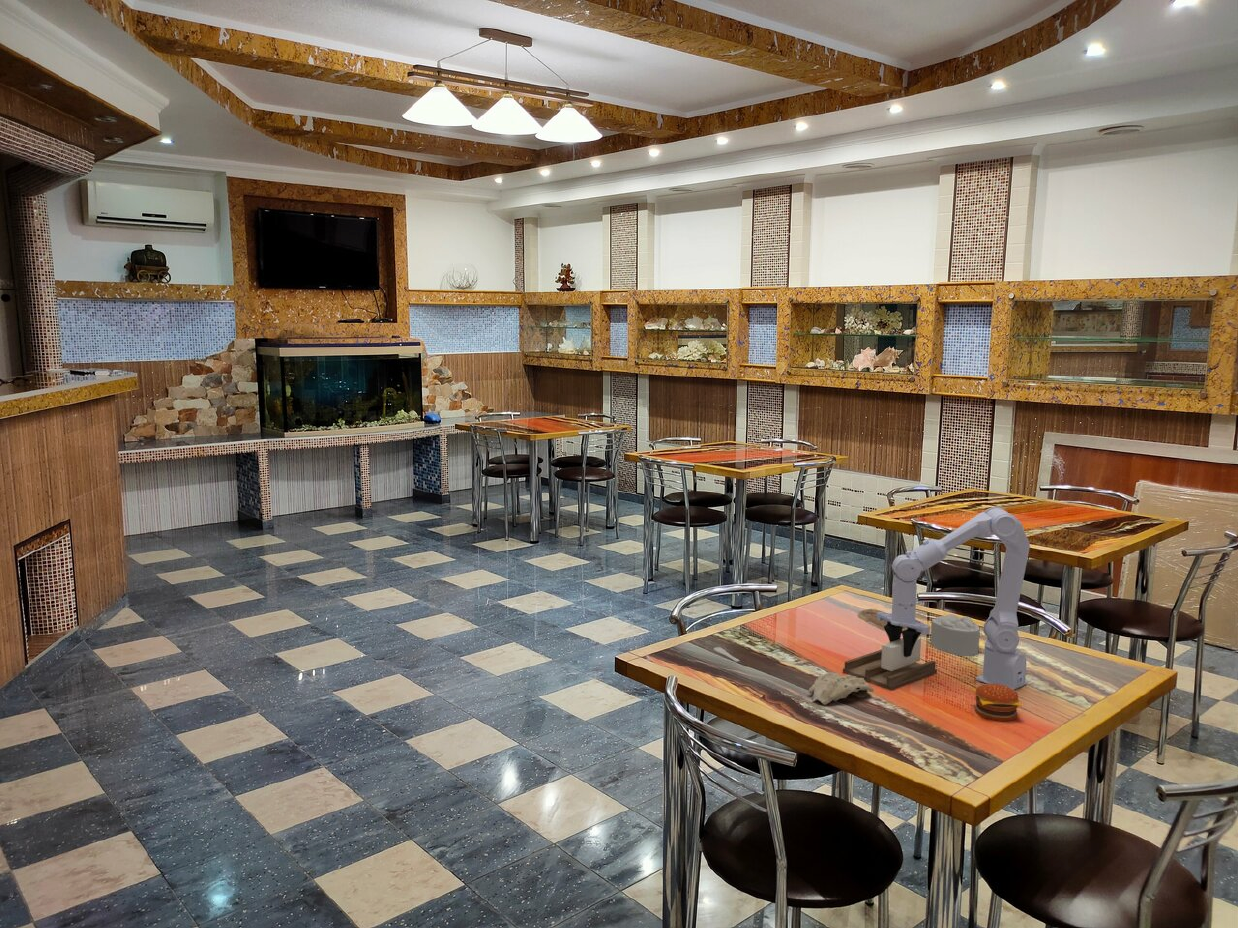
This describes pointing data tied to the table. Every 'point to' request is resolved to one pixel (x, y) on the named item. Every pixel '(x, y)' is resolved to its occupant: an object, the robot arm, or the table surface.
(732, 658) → the butter knife
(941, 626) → the lumpy-topped squat cylinder
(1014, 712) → the hamburger
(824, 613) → the table surface
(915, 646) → the white rectangular block
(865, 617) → the fish fossil
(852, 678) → the coral
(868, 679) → the rack
